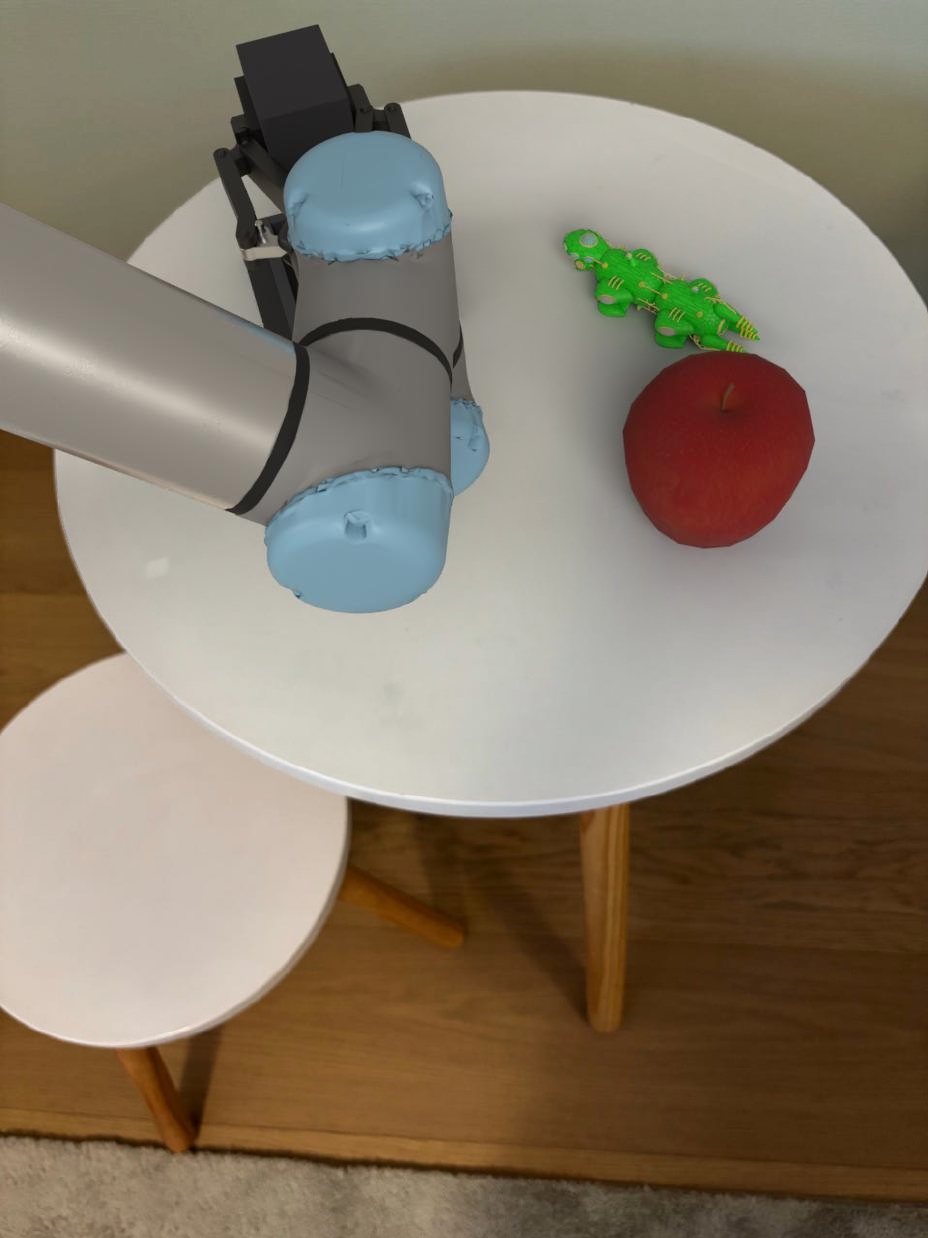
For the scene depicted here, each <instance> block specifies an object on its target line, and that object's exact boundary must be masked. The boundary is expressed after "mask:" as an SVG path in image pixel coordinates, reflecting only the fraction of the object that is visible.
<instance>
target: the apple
mask: <svg viewBox="0 0 928 1238" xmlns="http://www.w3.org/2000/svg"><path fill="white" fill-rule="evenodd" d="M621 433H622V443H623V451H624V452H623V454H624V463H625V467H626V472H627V477H628V482H629V486H630V489H631V491H632V494H633V495H634V497H635V499H636V501H637V502H638V504H639V507H640V508H641V510H642V512H643V514H644V515H645V516H646V518H648V520H649V521H650V523H652V525H653V526H654V527H655V528H656V530H657V531H658V532H660V533H662V534H663V535H664V536H665V537H667V538H669V539H670V540H671V541H673V542H674V543H676V544H678V545H681V546H687V547H692V548H693V547H694V548H698V549H718V548H729V547H732V546H734V545H736V544H739V543H741V542H744V541H746V540H748V539H750V538H752V537H754V536H755V535H756V534H758V533H759V532H760V531H761V530H763V529H764V528H765V527H767V526H768V525H769V524H771V523H772V522H773V521H775V519H776V518H777V517H778V515H779V514H780V512H781V511H782V510H783V508H784V507H785V506H786V505H787V503H788V502H789V500H790V499H791V498H792V496H793V494H794V493H795V491H796V489H797V487H798V486H799V485H800V482H801V481H802V480H803V479H802V478H803V477H804V475H805V474H806V471H807V470H808V467H809V463H810V461H811V457H812V453H813V450H814V446H815V442H816V436H815V431H814V425H813V420H812V414H811V411H810V406H809V401H808V397H807V393H806V390H805V389H804V387H802V386H801V385H800V383H799V382H798V381H797V380H796V379H795V378H794V377H793V376H792V375H791V374H790V373H789V371H787V369H785V368H784V367H782V366H780V365H778V364H776V363H774V362H772V361H770V360H768V359H766V358H764V357H762V356H760V355H759V354H756V353H749V352H748V353H743V352H734V351H726V350H719V351H715V350H711V351H706V352H699V353H698V352H697V353H692V354H689V355H687V356H685V357H683V358H681V359H679V360H677V361H675V362H673V363H671V364H670V365H668V366H666V367H664V368H663V369H661V370H660V372H658V373H657V374H656V375H655V376H654V377H653V378H652V380H650V381H649V382H648V383H647V384H646V385H645V386H644V388H643V389H642V390H641V391H640V392H639V394H638V395H637V397H636V398H635V399H634V400H633V401H632V403H631V404H630V408H629V410H628V413H627V417H626V419H625V422H624V425H623V428H622V432H621Z"/></svg>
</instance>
